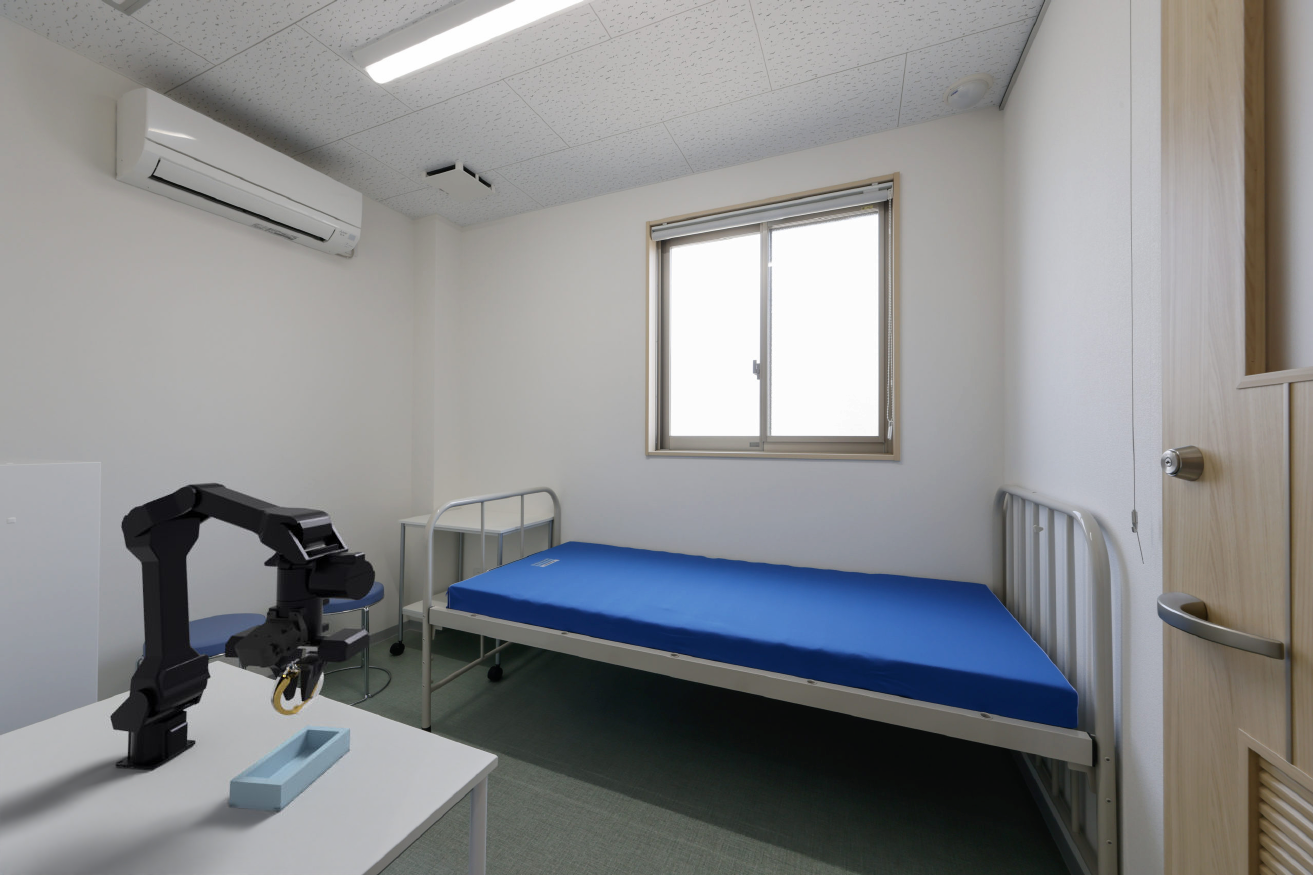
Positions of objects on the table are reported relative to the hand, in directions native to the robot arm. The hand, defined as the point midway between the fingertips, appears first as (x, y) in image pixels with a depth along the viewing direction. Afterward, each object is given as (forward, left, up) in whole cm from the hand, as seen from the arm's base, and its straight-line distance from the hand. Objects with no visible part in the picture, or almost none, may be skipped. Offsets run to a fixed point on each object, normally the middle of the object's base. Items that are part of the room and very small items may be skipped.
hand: (297, 699), depth 72 cm
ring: (0, 0, -2) cm, 2 cm away
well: (0, 0, -11) cm, 11 cm away
